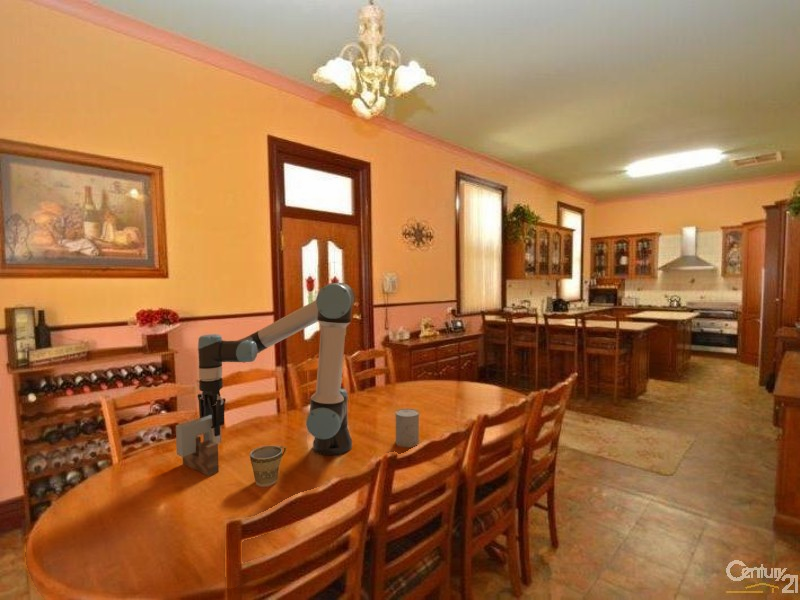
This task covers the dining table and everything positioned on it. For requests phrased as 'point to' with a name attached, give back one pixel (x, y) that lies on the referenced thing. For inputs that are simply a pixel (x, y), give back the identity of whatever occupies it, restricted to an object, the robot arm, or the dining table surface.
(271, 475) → the ceramic cup
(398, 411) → the grey cylinder
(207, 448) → the walnut upright
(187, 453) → the grey arch block
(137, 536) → the dining table surface
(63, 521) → the dining table surface
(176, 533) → the dining table surface
